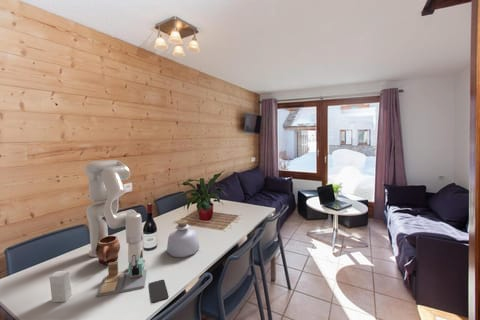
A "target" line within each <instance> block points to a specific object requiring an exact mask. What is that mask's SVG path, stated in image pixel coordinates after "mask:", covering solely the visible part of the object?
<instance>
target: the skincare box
mask: <svg viewBox="0 0 480 320" xmlns="http://www.w3.org/2000/svg"><path fill="white" fill-rule="evenodd" d="M48 278H49V285H50V294H51V295H50V296H51V303H57V302H58V303H66V302H67V301H68V300H69V299H70V298H72V296H73V293H72V292H73V291H72V285H71V275H70V271H69V270H66V271H65V270H63V271H59V270H58V271H55V272H54V273H53V274H51V275H49V277H48Z"/></svg>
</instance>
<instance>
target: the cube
mask: <svg viewBox="0 0 480 320" xmlns="http://www.w3.org/2000/svg"><path fill="white" fill-rule="evenodd" d="M143 260H144V257H143V258H140V260H139V262H138V267H139V275H142V274H143ZM136 261H137V260H136ZM135 264H136V265H137V263H135ZM128 273H129V277H132V261H131V263H129V262H128ZM134 276H138V275H134Z"/></svg>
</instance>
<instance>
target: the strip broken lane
mask: <svg viewBox="0 0 480 320" xmlns="http://www.w3.org/2000/svg"><path fill="white" fill-rule="evenodd" d="M107 271H108V272H107V273H108V274H107V275H106V276H107V277H106V276H105V277H106V279H105V282H104V284H105V283H111V282H116V281H118V280H119V277H120V274H122V273H121V271H119V261H118V260H117V261H116V262H111V263H109V264H108V265H107Z"/></svg>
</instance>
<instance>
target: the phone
mask: <svg viewBox="0 0 480 320" xmlns="http://www.w3.org/2000/svg"><path fill="white" fill-rule="evenodd" d="M148 291H149V295H150V296H149V297H150V300H151V301H150V302H151V303H152V304H155V303H159V302H162V301H165V300H168V298H170V297H169V292H168V288H167V285H166V282H165V280H164V279H159V280H156V281H152V282H149V283H148Z"/></svg>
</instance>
